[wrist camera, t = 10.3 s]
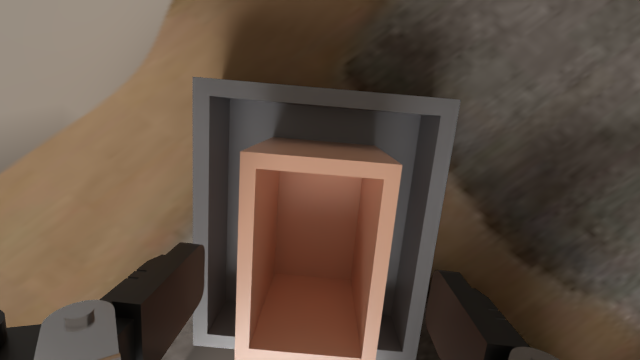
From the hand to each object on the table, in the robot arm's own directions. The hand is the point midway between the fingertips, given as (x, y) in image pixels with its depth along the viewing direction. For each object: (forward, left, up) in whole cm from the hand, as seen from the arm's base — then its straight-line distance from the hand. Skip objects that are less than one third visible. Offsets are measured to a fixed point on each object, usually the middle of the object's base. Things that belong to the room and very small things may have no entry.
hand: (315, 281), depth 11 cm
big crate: (0, 0, -9) cm, 9 cm away
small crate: (0, 0, -9) cm, 9 cm away
